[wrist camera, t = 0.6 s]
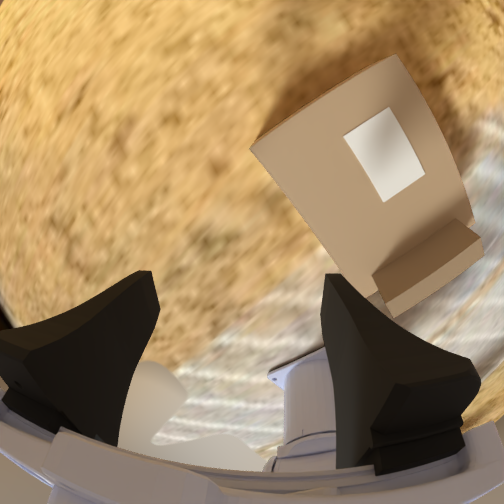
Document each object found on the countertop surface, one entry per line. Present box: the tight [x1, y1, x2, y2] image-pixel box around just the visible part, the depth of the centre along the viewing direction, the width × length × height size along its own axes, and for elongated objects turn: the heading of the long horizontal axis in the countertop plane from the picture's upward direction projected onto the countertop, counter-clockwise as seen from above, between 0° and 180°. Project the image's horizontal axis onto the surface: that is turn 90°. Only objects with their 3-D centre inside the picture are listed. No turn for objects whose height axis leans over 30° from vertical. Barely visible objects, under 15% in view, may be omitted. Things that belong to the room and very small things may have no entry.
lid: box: [249, 54, 484, 318], centre depth 13 cm, size 12×10×4 cm
